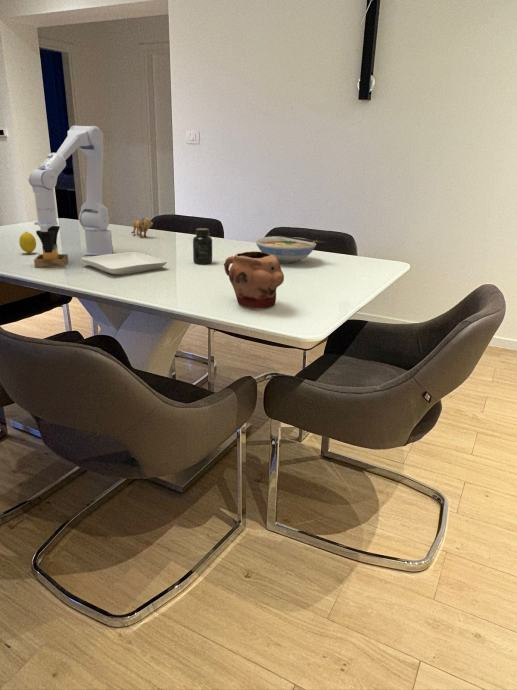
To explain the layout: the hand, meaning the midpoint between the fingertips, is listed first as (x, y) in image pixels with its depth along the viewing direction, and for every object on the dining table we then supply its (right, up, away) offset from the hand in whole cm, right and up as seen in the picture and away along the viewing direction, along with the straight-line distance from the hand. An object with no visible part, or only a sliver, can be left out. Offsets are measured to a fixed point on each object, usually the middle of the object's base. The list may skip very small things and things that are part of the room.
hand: (50, 250), depth 172 cm
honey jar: (0, -4, +2) cm, 4 cm away
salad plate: (+24, -6, +1) cm, 25 cm away
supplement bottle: (+50, -2, +13) cm, 51 cm away
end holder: (0, -4, +2) cm, 5 cm away
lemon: (-14, +1, +16) cm, 21 cm away
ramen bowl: (+80, -1, +21) cm, 82 cm away
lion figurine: (+17, +17, +59) cm, 63 cm away
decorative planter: (+68, -21, -33) cm, 78 cm away
